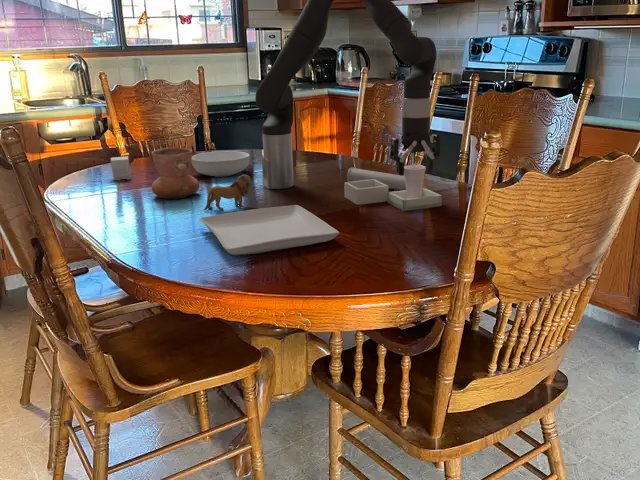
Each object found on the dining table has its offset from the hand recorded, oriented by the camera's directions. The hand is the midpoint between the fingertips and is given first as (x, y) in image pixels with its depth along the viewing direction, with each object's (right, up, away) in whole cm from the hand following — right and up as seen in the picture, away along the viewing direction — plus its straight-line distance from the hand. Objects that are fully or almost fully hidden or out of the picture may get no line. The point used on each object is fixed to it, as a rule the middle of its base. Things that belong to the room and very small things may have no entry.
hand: (414, 173), depth 165 cm
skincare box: (-97, +3, +45) cm, 107 cm away
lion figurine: (-52, -9, +5) cm, 53 cm away
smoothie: (0, -8, +3) cm, 8 cm away
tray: (0, -8, +3) cm, 9 cm away
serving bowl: (-62, +5, +48) cm, 78 cm away
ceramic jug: (-71, -5, +20) cm, 74 cm away
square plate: (-39, -18, -21) cm, 48 cm away
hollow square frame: (-13, -6, +10) cm, 17 cm away
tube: (-6, -2, +23) cm, 24 cm away
